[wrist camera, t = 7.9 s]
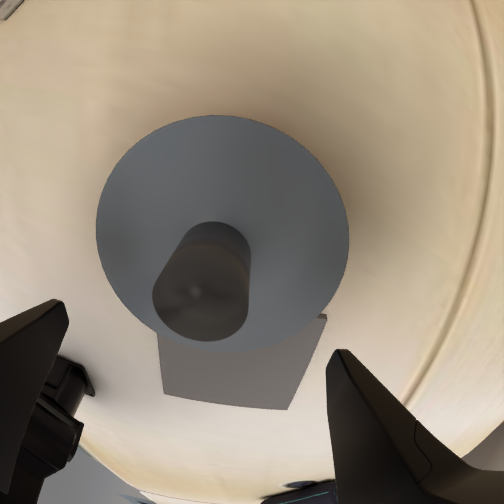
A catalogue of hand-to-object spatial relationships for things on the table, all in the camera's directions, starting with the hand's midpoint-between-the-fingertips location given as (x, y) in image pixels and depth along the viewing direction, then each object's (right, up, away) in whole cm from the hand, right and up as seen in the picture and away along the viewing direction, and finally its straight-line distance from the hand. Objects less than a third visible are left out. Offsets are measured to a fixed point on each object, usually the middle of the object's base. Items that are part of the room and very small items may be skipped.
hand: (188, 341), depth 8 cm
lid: (0, +3, +6) cm, 7 cm away
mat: (0, -8, +17) cm, 18 cm away
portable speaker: (+14, -58, +40) cm, 72 cm away
